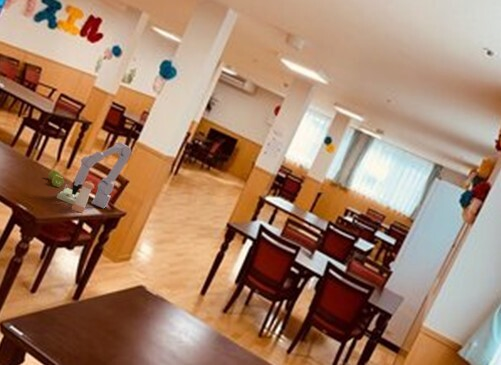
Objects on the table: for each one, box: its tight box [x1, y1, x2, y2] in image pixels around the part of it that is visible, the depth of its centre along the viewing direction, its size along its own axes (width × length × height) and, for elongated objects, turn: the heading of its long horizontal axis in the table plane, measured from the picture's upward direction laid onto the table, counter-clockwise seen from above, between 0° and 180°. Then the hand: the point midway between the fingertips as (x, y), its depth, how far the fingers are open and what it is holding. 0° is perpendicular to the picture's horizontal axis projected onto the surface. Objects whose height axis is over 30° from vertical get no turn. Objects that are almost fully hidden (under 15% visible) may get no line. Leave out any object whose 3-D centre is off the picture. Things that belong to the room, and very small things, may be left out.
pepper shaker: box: [71, 180, 95, 213], centre depth 310 cm, size 7×7×19 cm
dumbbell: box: [48, 169, 65, 188], centre depth 345 cm, size 16×8×7 cm, turn 31°
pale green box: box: [56, 183, 80, 205], centre depth 328 cm, size 14×24×10 cm, turn 8°
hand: (73, 194), depth 327 cm, fingers closed
